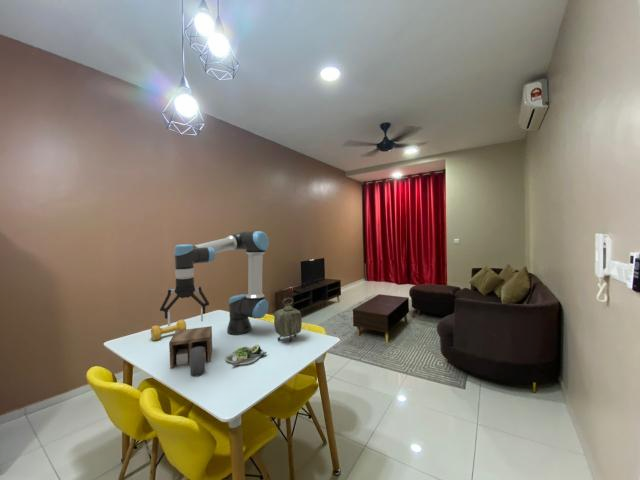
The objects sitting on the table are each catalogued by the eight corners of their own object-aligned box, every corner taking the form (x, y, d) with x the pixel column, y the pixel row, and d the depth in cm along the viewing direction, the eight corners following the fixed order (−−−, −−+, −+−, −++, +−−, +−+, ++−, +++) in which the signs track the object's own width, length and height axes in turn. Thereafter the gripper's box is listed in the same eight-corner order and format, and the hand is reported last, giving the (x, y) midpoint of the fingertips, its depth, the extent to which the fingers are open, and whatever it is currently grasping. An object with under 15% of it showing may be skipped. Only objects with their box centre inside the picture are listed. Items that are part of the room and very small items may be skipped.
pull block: (207, 356, 134) (207, 335, 134) (204, 374, 116) (203, 350, 116) (195, 358, 132) (194, 337, 132) (189, 377, 114) (188, 353, 114)
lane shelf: (212, 348, 143) (211, 326, 143) (210, 361, 128) (209, 336, 128) (176, 354, 137) (175, 330, 137) (170, 368, 122) (169, 342, 122)
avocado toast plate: (246, 372, 119) (246, 362, 119) (216, 365, 125) (216, 355, 125) (270, 353, 137) (269, 344, 137) (242, 348, 143) (242, 340, 143)
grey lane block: (189, 357, 133) (189, 348, 133) (188, 363, 128) (187, 353, 127) (178, 359, 132) (178, 349, 131) (176, 365, 126) (176, 355, 126)
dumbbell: (153, 342, 153) (152, 329, 153) (150, 338, 159) (149, 325, 159) (187, 333, 166) (187, 321, 166) (183, 330, 173) (183, 317, 172)
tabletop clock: (296, 334, 160) (295, 294, 160) (303, 339, 153) (302, 297, 152) (274, 340, 152) (273, 298, 152) (280, 345, 145) (279, 301, 144)
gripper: (213, 274, 129) (214, 316, 129) (154, 278, 118) (155, 324, 119) (214, 276, 122) (215, 321, 123) (151, 281, 112) (153, 330, 112)
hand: (185, 322), depth 121 cm, fingers open, 13 cm apart
